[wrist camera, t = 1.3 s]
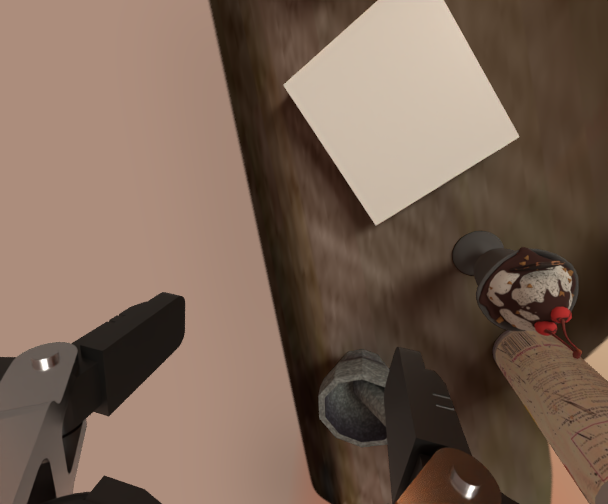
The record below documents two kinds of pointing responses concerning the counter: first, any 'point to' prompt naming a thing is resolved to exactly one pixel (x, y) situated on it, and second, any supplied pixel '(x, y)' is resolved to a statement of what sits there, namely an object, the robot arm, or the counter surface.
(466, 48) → the cream board
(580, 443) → the aerosol can
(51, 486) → the robot arm
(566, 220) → the counter surface
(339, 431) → the mortar and pestle
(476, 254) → the sundae
